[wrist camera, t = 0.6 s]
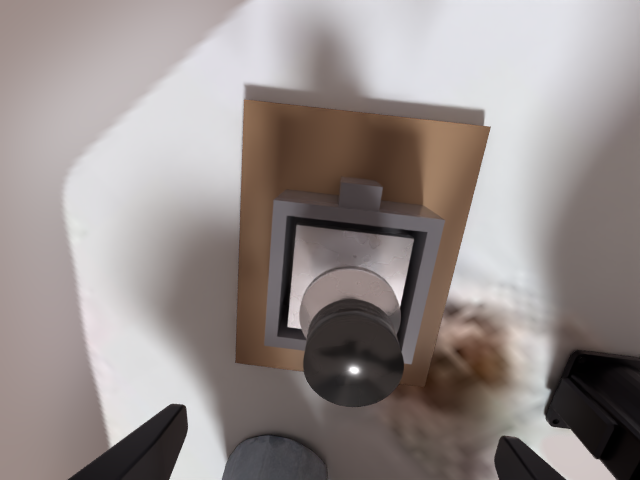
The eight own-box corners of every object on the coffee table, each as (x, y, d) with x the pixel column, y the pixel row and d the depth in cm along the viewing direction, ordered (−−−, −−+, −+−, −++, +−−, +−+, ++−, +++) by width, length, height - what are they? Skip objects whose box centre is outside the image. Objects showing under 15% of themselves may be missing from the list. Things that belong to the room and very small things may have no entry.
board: (484, 127, 18) (490, 126, 17) (421, 379, 23) (424, 386, 23) (248, 101, 18) (243, 99, 18) (238, 355, 24) (235, 362, 23)
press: (427, 185, 18) (450, 195, 15) (398, 325, 21) (411, 364, 17) (287, 169, 19) (275, 175, 15) (277, 310, 21) (264, 345, 18)
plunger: (411, 235, 16) (463, 297, 10) (391, 334, 18) (423, 445, 11) (297, 222, 16) (270, 274, 10) (289, 321, 18) (260, 423, 11)
